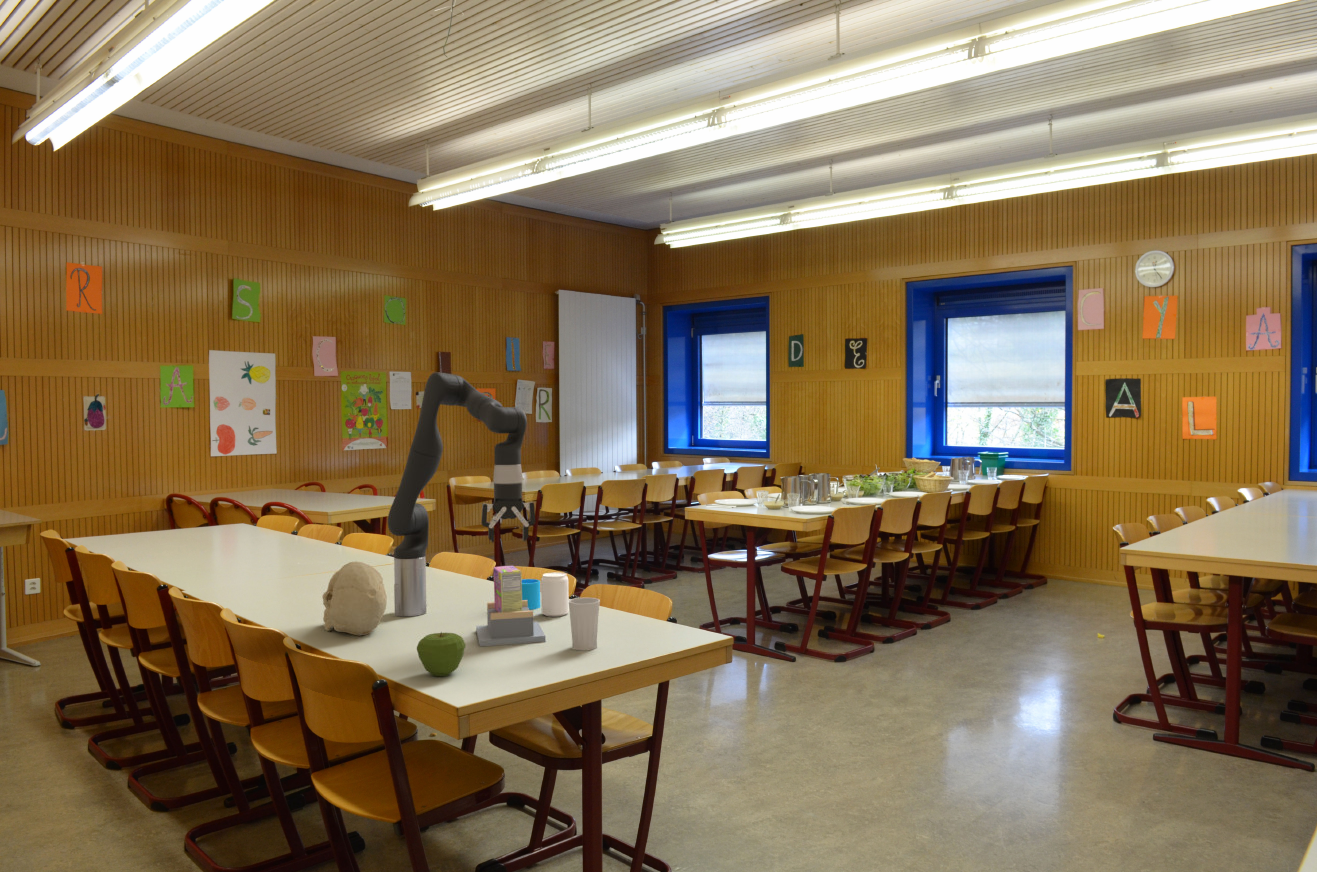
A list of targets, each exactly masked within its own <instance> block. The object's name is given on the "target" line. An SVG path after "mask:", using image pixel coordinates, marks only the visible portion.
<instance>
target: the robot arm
mask: <svg viewBox="0 0 1317 872" xmlns="http://www.w3.org/2000/svg"><path fill="white" fill-rule="evenodd" d="M423 392H424V393H423V397H422V402H421V406H420V407H421V408H420V413H419V417H418V422H417V424H416V429H415V432H414V435H413V439H412V441H411V445H410V448H409V452H408V456H407V460H406V464H405V467H404V470H403V474H402V477H401V480H400V482H399V483H400V484H399V486H398V489H397V492H396V495H395V496H394V499H393V502H392V503H391V506H390V509H389V510H388V515H387V527H388V529H389V532H390V533H391V534H392V535H394V536H397V537H403V536H404V537H403V540H402V541H401V543H400V544H398V545H397V546H396V547H395V548H394V549H393V550H394V551H393V558H394V559H393V562H394V563H393V565H394V567H393V570H394V573H393V574H394V578H393V579H394V585H393V591H394V592H393V593H394V596H393V598H394V600H393V601H394V616H395V617H415V616H421V615H425V614H426V613H427V605H428V604H427V566H426V563H427V561H426V558H427V557H426V555H427V554H426V552H427V549H428V547H429V546H428V545H429V530H430V529H429V527H430V524H429V523H430V521H429V514H428V511H427V509H426V507H425V506H424V505H422V503H421V504H420V503H417V500H418V498H419V496H420V495H421V493H422V491H423V490H424V489H425V488H426V486H427V485H428V483H429V482H430V481H431V479H432V478H433V477H434V476H435V474H436V472H437V470H438V469H439V465H440V462H441V458H442V455H443V451H444V445H443V441H442V436H441V433H440V430H439V427H438V413H439V409H440V406H449V407H452V406H453V407H454V406H458V407H464V408H466V409H467V412H468V413H469V415H471V416H472V417H473V418H475V419H476V420H478V421H480V422H482V423H483V424H484V425H485V426H486V427H487V429H488V430H489V431H490V432H492V433H495V434H507V437H506V439H505V440H504V441H501V442H499V443H496V444H495V446H494V451H493V452H494V454H493V455H494V467H493V468H494V469H493V478H492V480H493V502H492V503H485V502H483V503H482V505H481V506H482V507H481V526H483V527H486V528H487V531H488V536H487V537H488V540H489V541H490V543H495V528H494V526H495V525H496V524H497V523H498V522H499V520H500V519H502V520H508V519H510V520H515V519H518V520H519V521H520V523H522V525H523V526H522V541H523V542H526V541H527V540H528V539H529V531H530V530H529V528H530V526H533V525H535V524H536V509H535V503H534V502H533V501H529V502H524V501H523V471H522V452H521V451H522V447H523V443H524V438H525V434H526V431H527V425H528V420H527V415H526V413H525V410H524V409H522V408H521V407H516V406H515V407H514V406H513V407H512V406H510V407H509V406H508V407H507V406H506V407H504V406H503V405H502V403H501V402H499V401H498V400H497V399H494V398H492V397H491V396H488V395H486V394H484V393H482V392H481V391H480V390H477V389H476V388H475V387H474V386H472V384H470V383H469V382H468V381H467V380H466V379H464V377H462V376H460V375H458V374H454V373H453V374H452V373H448V372H447V373H446V372H438V371H435V372H433V373H431V374H430V375H429V376H428V378H427V380H426V383H425V387H424V391H423ZM524 508H525V509H526V510H527V511H528V513H529V520H526V519H525V517H524V516H523V515H522V513H521V512H522V511H523V510H524ZM491 509H493V511H494V512H495V514H494V515H493V516H492V518H491V520H490V521H487V520H488V513H489V512H490V511H491Z"/></svg>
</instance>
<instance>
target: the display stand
mask: <svg viewBox="0 0 1317 872" xmlns="http://www.w3.org/2000/svg"><path fill="white" fill-rule="evenodd" d="M486 609H487V612H486V614H487V619H486V620H487V624H483V625H482V624H481V625H475V626H476V629H475V631H476V635H477V639H478V644H479V647H491V646H504V645H514V644H515V645H517V644H530V643H531V644H532V643H545V642H546V640H547V639H546V634H545V632H544V631H543V629H542V627H541V625H540V623H539V621H534V610H529V608H528V601H527V600H522V611H515V612H500V613H498V612H497V611H496V610H495V601H493V602H492V601H491V602H488V601H487V602H486Z"/></svg>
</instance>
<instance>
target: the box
mask: <svg viewBox="0 0 1317 872" xmlns="http://www.w3.org/2000/svg"><path fill="white" fill-rule="evenodd" d="M522 577H523V576H522V571H521V570H520V569H518V568H517V567H515V566H514V565H502V566H494V567H493V591H494V602H495V610H496V611H497V612H498V613H500V612H515V611H522V579H523V578H522Z"/></svg>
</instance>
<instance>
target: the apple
mask: <svg viewBox="0 0 1317 872" xmlns="http://www.w3.org/2000/svg"><path fill="white" fill-rule="evenodd" d="M465 648H466V643H465V640H464V638H463V637H462V636H461V635H459V634H457V633H454V632H442V631H441V632H436V633H429V634H427V635H425V636H423V638H421V639H420V640H419V641H418V643H417V646H416V651H417V654H418V658H419V660H420V662H421V664H422V665H423V667H424V669H425V672H428V673H429V674H431V676H435V677H447V676H449V675H451V674H452V673H453V672H455V671H456V670H457V669H458V667H459V665H460V663H461V662H462V659H463V657H464V654H465V651H466V650H465Z"/></svg>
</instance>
